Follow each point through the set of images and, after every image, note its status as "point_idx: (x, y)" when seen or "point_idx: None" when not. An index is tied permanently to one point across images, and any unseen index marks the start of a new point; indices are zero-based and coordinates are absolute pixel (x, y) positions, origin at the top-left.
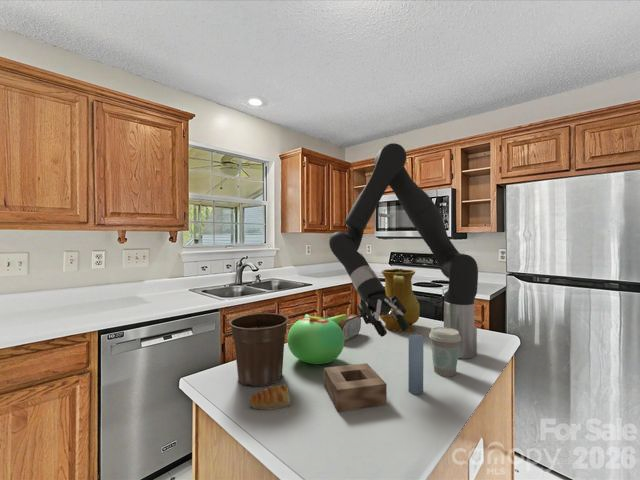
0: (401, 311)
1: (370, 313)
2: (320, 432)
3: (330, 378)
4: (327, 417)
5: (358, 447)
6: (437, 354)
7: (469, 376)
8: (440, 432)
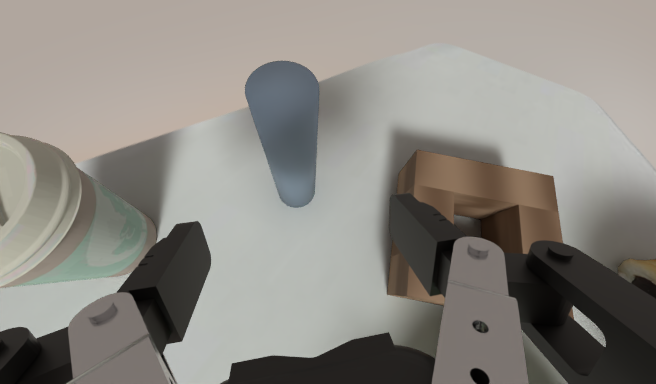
0: (31, 374)
1: (587, 289)
2: (554, 155)
3: (562, 241)
4: None
5: (500, 102)
6: (119, 218)
7: None
8: (357, 76)
